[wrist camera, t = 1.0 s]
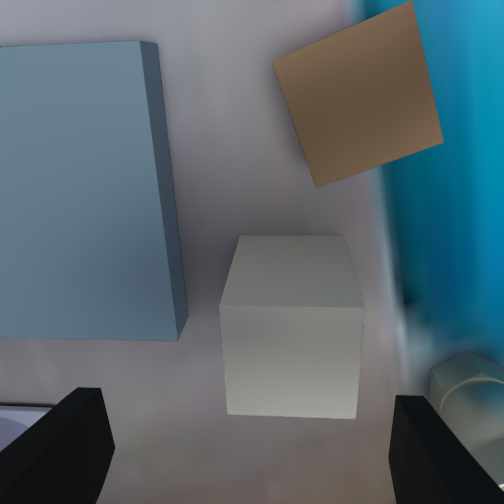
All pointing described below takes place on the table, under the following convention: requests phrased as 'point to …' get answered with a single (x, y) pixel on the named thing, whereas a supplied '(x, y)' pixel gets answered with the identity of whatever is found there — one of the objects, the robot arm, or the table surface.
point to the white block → (292, 328)
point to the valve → (473, 407)
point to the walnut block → (361, 96)
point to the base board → (87, 195)
